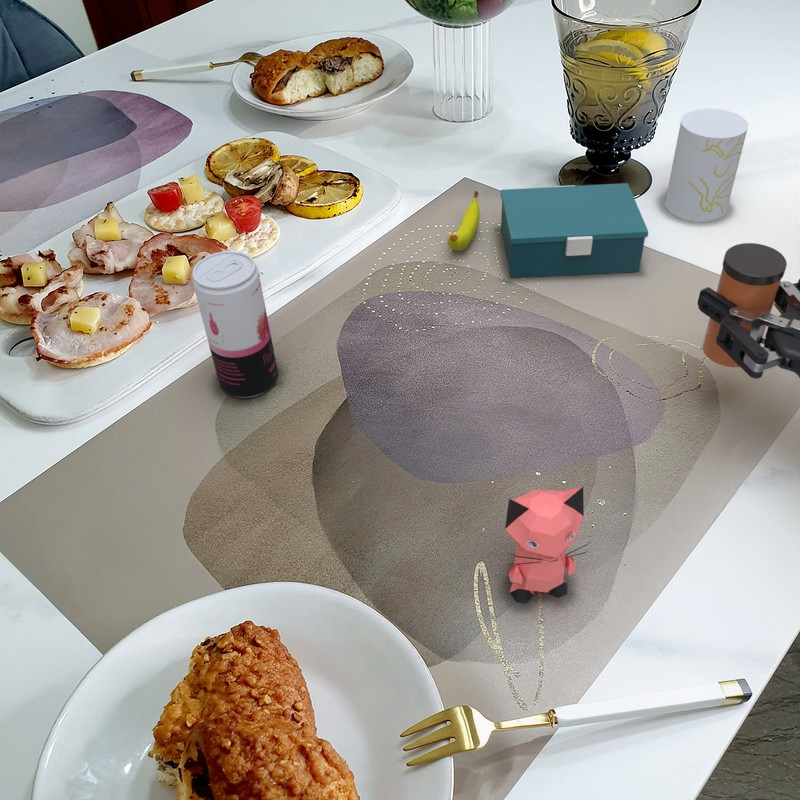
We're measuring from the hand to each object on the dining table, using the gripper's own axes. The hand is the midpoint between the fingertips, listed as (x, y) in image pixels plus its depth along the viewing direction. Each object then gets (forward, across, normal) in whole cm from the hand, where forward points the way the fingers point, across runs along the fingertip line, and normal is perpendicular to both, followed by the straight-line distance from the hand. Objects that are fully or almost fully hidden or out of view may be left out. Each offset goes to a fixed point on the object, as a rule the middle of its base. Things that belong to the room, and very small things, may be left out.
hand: (723, 285), depth 83 cm
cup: (+25, -26, +13) cm, 38 cm away
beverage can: (+28, +40, +13) cm, 51 cm away
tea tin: (-3, 0, +6) cm, 7 cm away
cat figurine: (-10, +30, +13) cm, 34 cm away
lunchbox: (+27, -5, +13) cm, 30 cm away
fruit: (+36, +5, +13) cm, 39 cm away
